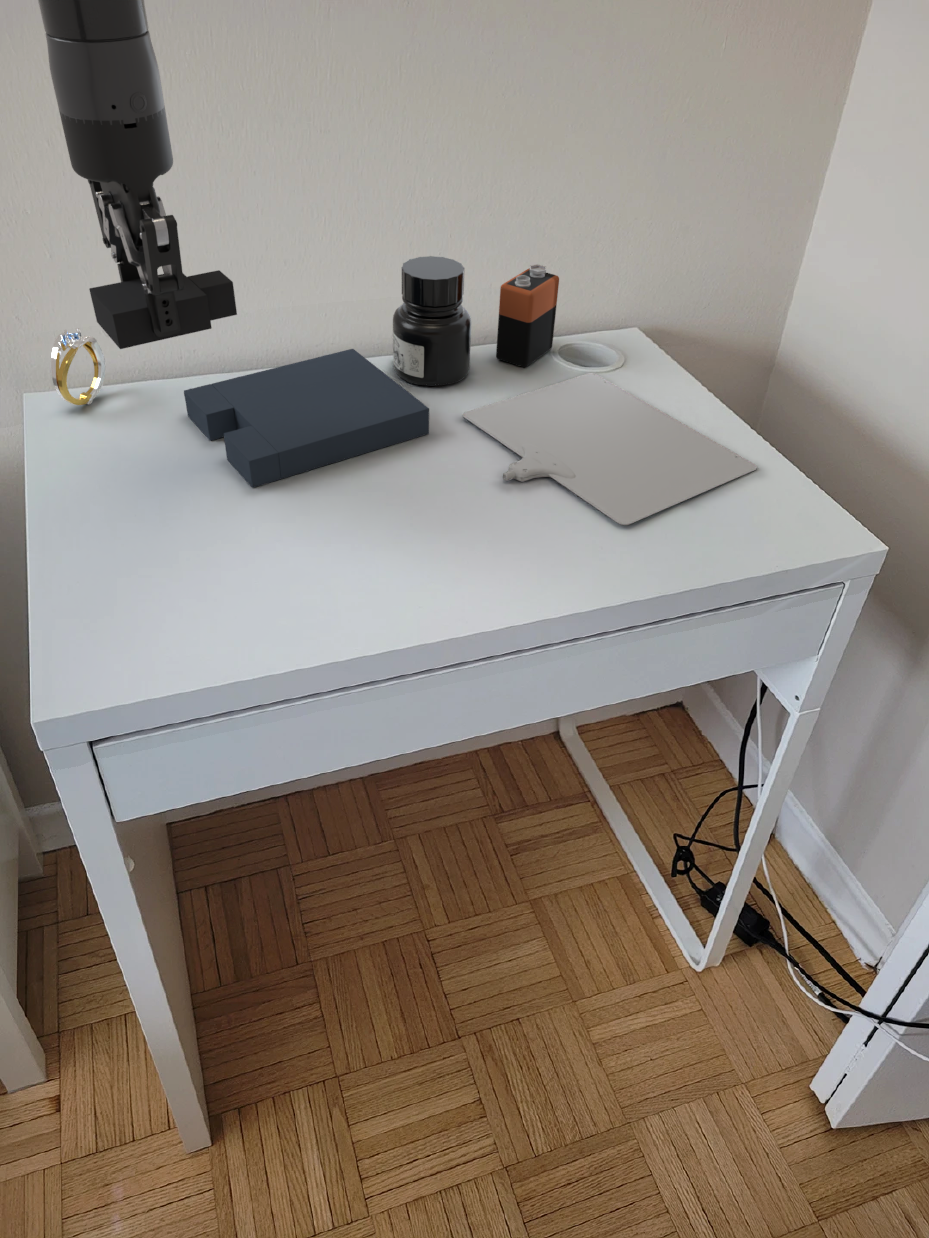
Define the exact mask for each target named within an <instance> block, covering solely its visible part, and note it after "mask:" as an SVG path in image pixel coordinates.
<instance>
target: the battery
mask: <svg viewBox="0 0 929 1238" xmlns="http://www.w3.org/2000/svg"><path fill="white" fill-rule="evenodd" d="M559 285H560V277H559V276H558V275H556V274H554V273H549V272H547V266H546V265H543V264H539V263H537V264H532V265H529V268H527V269H525V270H523V271H522V272H520V273H518V274H517V275H515V276H514V277H512V278H510V279H508V280H507V281H505V282H504V283H503V284H501V285H500V288H499V289H500V290H499V302H498V303H499V304H498V305H499V306H498V320H497V321H498V322H497V334H496V335H497V336H496V352H495V356H496V359H497V360H500V361H502V362H506V363H508V364H512V365H515V366H517V367H518V366H519V367H522V368H527V367H528V366H530V365H531V364H532V363H534V362H535V361H537V360H538V359H539V358H541V357H542V356H543V355H545V354H547V353H548V352H549V351H550V350H551V349H552V348H553V342H554V334H555V333H554V332H555V323H556V314H557V313H556V312H557V306H558V305H557V303H558V295H559Z"/></svg>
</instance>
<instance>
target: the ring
mask: <svg viewBox="0 0 929 1238" xmlns="http://www.w3.org/2000/svg"><path fill="white" fill-rule="evenodd" d="M75 330H76V332H72V333H70V332H69V330H68V329H63V332H61V333H60V334H58V335H57V336H56V338H54V339H55V340H54V343H53V346H52V351H51V357H50V358H51V359H50V360H51V361H50V369H51V378H52V383H53V386H54V389H55V390H56V393H57V394H58V396H59V397H60V398H61V399H62V400H63V401H65V402H67V403H69V404H72V405H74V406H83V405H91V404H92V403H93V402H94V399H95V398H96V397H97V396H98V394H99V393H100V391H101V390H102V387H103V385H104V381H105V376H106V359H105V353H104V352H103V349H102V347H101V345H100V343H99V341H98V340H97V339H96V338H95V337H93V336H91V335H90V336H89V335H83V336H82V332H81V328H80V327H76V328H75ZM81 347H83V348H84V349H85V350H86V351H87V352H88V354H89V356H90V357H91V360H92V363H93V370H94V374H93V380H92V382H91V385H90V387H89V389H88V390H87V391H86V392H85V391H84V392H81V393H80V394H79V397H74V396H72V394H71V393H70V391H69V389H68V380H67V379H68V373H69V370H70V367H71V364H72V363H73V360H74V358H75V356H76V354H77V353H78V350H79V349H80V348H81ZM67 349H69V350H68V351H67ZM65 351H67V352H66V354H65V355H64V357H63V358H62V361H61V357H62V356H61V355H62V352H65Z"/></svg>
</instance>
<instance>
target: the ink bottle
mask: <svg viewBox="0 0 929 1238" xmlns="http://www.w3.org/2000/svg"><path fill="white" fill-rule="evenodd" d="M465 269H466V268H465V267H464V266H463V264H462V263H461V262H459V261H457V260H455V259H453V258H449V257H445V256H434V255H429V256H427V255H426V256H417V257H413V258H410V259H407V260H406V261H405V262H403V263H402V266H401V299H402V302H403V303H402V304H400V305H399V306H398V307H397V308H396V309H395V311H394V313H393V316H392V364H393V365H392V367H393V370H394V372H395V374H396V375H397V376H398V377H399V378H401V380H404V381H405V382H407V383H410V384H414V385H418V386H430V387H431V386H432V387H433V386H435V387H436V386H437V387H438V386H447V385H451V384H454V383H455V384H456V383H458V382H460V381H462V380H463V379H464V378H466V377H467V376H468V374H469V372H470V366H471V365H470V364H471V345H472V343H471V342H472V322H473V321H472V317H471V314H470V312H469V311H468V309H467V308H465V307H464V306H463V305H462V304H463V301H464V295H465V294H464V293H465V292H464V291H465Z"/></svg>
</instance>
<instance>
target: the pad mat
mask: <svg viewBox="0 0 929 1238" xmlns="http://www.w3.org/2000/svg"><path fill="white" fill-rule="evenodd" d="M183 396H184V402H185V407H186V413H187V417H188V418H189V420H191V421H192V422H193V423H194V425H195V426H196V427H197V428H198V429H199V430H200V431H201V433H203V435H204V436H205V437H206V438H207V439H208V440H209V441H214V440H219V439H222V438H223V440H224V441H223V442H224V447H225V454H226V460H227V461H228V463H230V465H231V466H232V467H233V468H234V469H235V471H236V472H237V473H238V474H239V475H240V476H241V477H242V479H244V480H245V481H246V483H247V484H248V485H249V486H250V487H251V488H252V489H254V488H257V487H260V486H265V485H267V484H270V483H273V482H277V481H279V480H283V479H286V478H290V477H292V476H295V475H299V474H303V473H305V472H309V471H313V470H315V469H319V468H322V467H325V466H329V465H331V464H336V463H338V462H341V461H345V460H348V459H351V458H354V457H358V456H361V455H364V454H367V453H372V452H374V451H377V450H381V449H383V448H388V447H391V446H393V445H396V444H400V443H403V442H406V441H409V440H413V439H416V438H419V437H423V436H426V435H429V433H430V407H428V406H427V405H426V404H424V403H423V402H422V401H420V399H418V398H417V397H415V396H414V395H413V394H411V392H409V391H408V390H407V389H405V388H404V387H403V386H401V385H400V384H399V383H398V382H397V381H395V380H394V379H392V378H391V377H390V376H389V375H388V374H386V373H385V372H384V371H382V370H381V369H380V368H378V367H377V366H376V365H374V363H372V362H371V361H370V360H368V359H367V358H366V357H365V356H364V355H362V354H361V353H359V351H357V350H355V349H354V348H350V349H346V350H345V349H344V350H342V351H338V352H337V351H336V352H334V353H329V354H326V355H322V356H318V357H312V358H308V359H305V360H301V361H298V362H293V363H289V364H285V365H281V366H277V367H274V368H273V367H272V368H269V369H265V370H261V371H257V372H253V373H249V374H244V375H241V376H237V377H232V378H229V379H225V380H221V381H216V382H213V383H209V384H205V385H201V386H197V387H192V388H189V389H184V390H183Z"/></svg>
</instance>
